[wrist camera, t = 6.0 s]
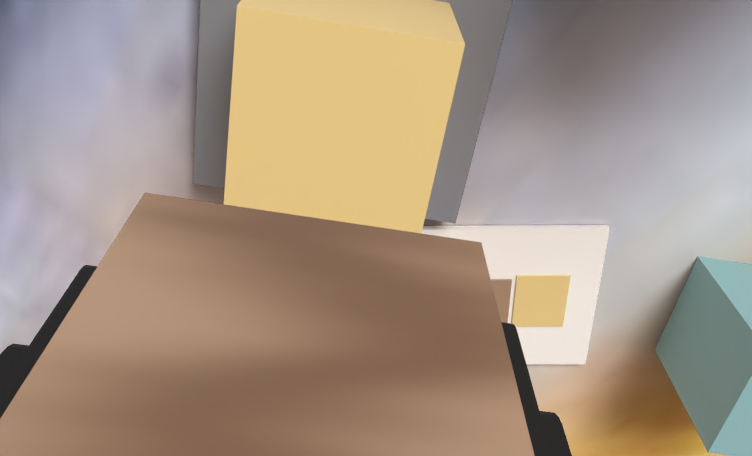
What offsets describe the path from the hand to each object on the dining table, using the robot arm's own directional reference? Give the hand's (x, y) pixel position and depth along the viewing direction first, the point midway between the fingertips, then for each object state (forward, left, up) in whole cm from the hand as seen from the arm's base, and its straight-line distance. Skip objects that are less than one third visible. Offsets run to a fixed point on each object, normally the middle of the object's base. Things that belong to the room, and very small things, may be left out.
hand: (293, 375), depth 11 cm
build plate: (0, 0, -16) cm, 16 cm away
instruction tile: (-7, +9, -16) cm, 20 cm away
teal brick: (-18, +8, -16) cm, 26 cm away
